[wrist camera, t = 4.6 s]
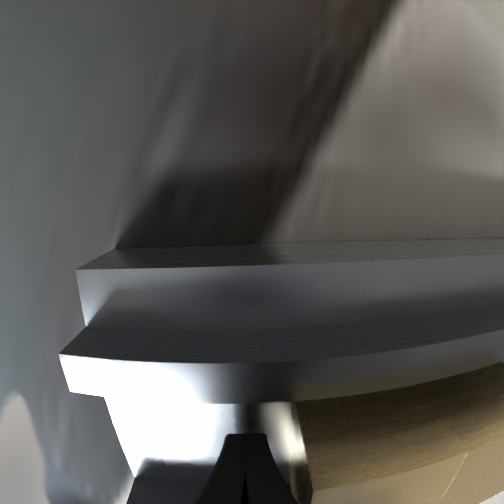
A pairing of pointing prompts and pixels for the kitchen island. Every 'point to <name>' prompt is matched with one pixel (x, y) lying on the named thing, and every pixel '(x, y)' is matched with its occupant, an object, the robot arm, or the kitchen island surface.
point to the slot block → (270, 339)
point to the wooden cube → (372, 449)
